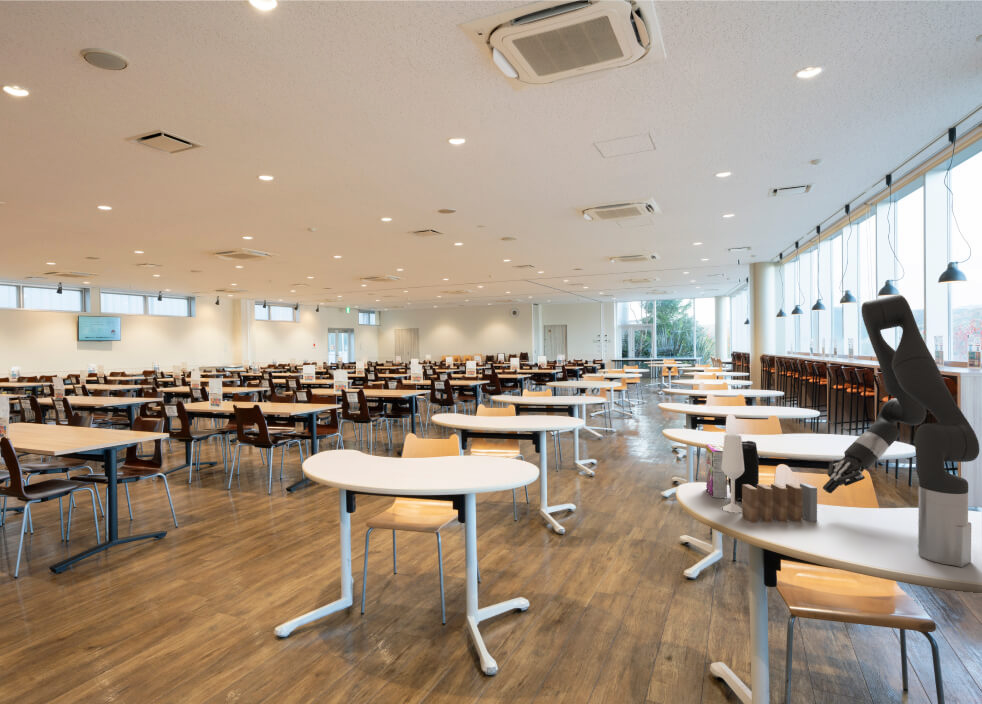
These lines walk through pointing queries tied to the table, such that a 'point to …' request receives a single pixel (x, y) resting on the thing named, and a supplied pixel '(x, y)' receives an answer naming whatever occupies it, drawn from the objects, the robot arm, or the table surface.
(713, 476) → the candy bar box
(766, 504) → the walnut domino
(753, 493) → the walnut domino
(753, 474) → the portable speaker
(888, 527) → the table surface
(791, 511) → the walnut domino
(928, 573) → the table surface
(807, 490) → the grey domino
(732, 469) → the champagne flute
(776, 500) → the walnut domino
